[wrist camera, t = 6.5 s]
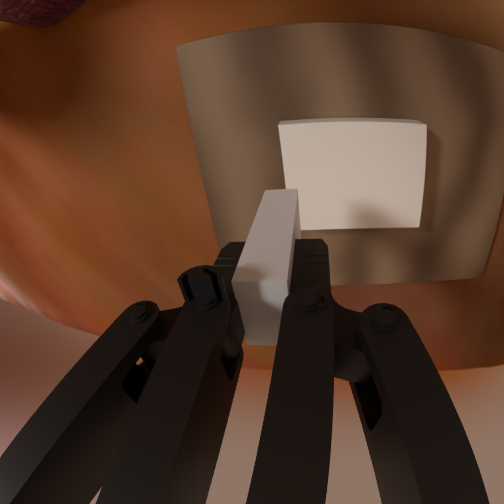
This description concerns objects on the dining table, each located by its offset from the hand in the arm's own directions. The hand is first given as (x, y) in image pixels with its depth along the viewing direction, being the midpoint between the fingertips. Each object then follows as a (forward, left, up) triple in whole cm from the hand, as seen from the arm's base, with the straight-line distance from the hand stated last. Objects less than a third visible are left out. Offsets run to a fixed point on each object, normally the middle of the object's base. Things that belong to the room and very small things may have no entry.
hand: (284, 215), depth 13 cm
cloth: (+6, 0, -8) cm, 10 cm away
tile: (0, 0, -5) cm, 5 cm away
